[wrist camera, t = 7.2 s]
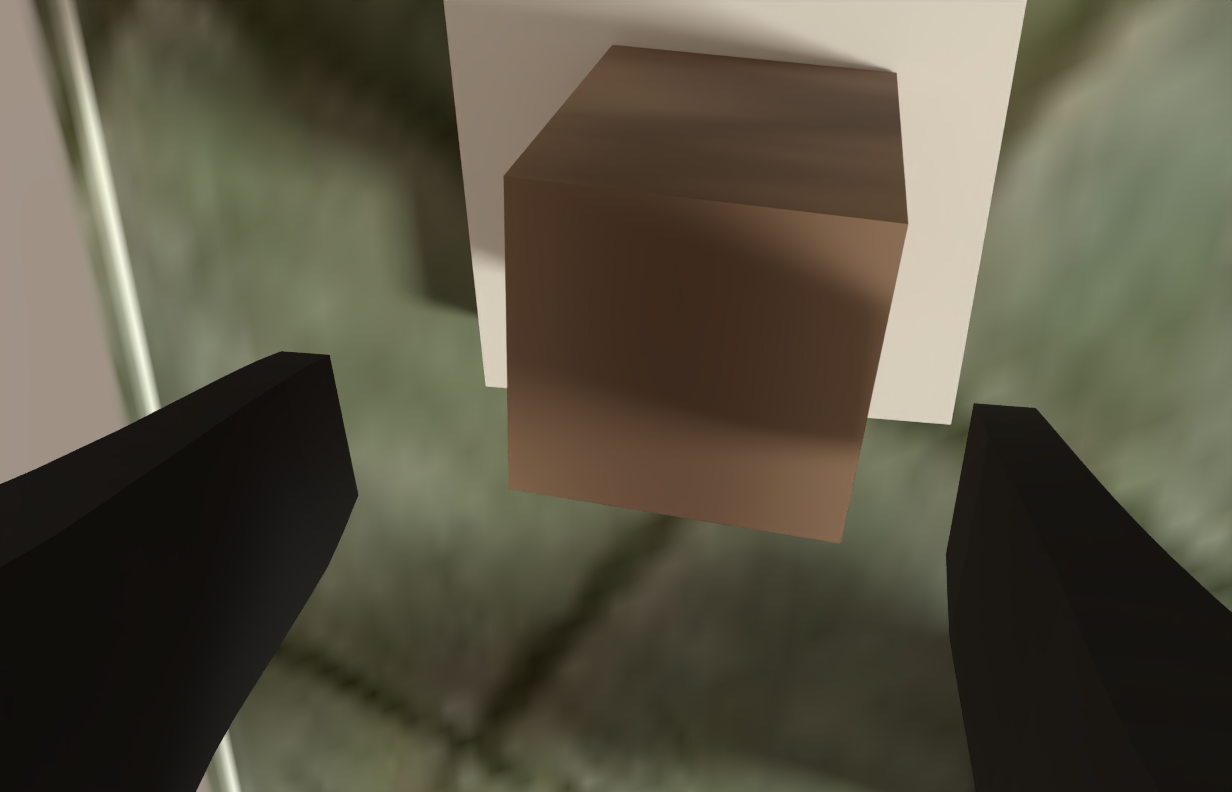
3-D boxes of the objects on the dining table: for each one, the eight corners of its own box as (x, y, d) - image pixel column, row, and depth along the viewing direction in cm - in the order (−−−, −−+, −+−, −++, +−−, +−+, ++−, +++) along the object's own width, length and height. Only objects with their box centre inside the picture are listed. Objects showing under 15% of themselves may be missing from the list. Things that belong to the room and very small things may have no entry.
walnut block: (897, 72, 16) (908, 223, 11) (848, 326, 18) (840, 543, 14) (612, 44, 17) (503, 176, 12) (601, 293, 19) (508, 488, 14)
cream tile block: (1018, -136, 17) (1046, -111, 14) (939, 344, 22) (950, 424, 19) (487, -131, 18) (431, -109, 16) (524, 316, 23) (486, 386, 21)
